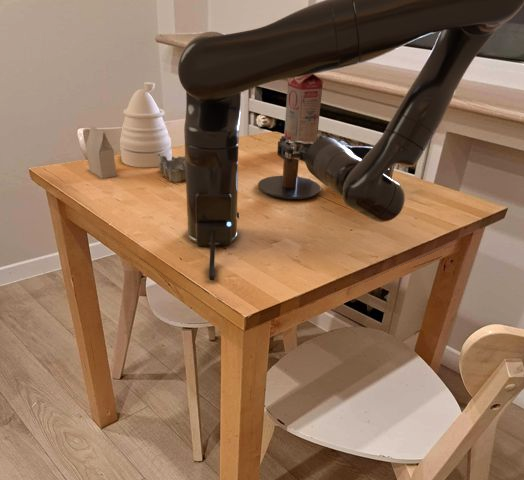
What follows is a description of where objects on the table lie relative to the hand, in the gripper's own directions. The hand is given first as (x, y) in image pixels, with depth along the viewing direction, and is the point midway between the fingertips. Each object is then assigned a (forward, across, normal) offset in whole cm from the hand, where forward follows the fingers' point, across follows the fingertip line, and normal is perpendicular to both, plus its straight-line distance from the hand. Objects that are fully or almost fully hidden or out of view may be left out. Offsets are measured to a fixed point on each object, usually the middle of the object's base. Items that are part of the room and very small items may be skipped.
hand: (301, 140), depth 111 cm
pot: (+6, -19, +12) cm, 24 cm away
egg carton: (+20, +23, +13) cm, 33 cm away
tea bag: (+25, +40, +13) cm, 49 cm away
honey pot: (+34, +29, +13) cm, 46 cm away
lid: (+6, 0, +12) cm, 13 cm away
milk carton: (+34, -14, +13) cm, 39 cm away
